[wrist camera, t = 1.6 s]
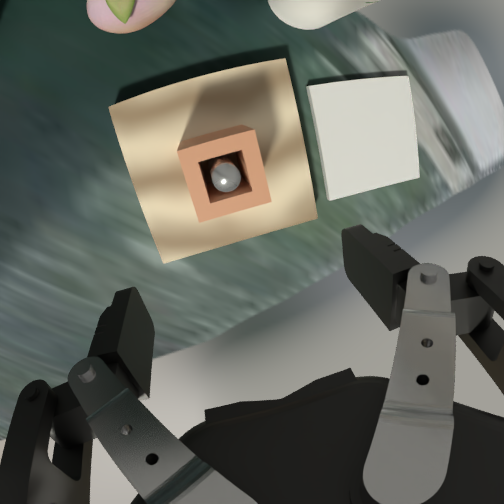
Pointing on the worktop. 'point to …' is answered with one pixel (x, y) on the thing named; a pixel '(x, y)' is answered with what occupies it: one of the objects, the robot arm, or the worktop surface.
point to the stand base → (200, 123)
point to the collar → (250, 164)
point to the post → (224, 173)
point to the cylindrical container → (314, 11)
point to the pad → (364, 133)
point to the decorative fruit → (126, 13)
